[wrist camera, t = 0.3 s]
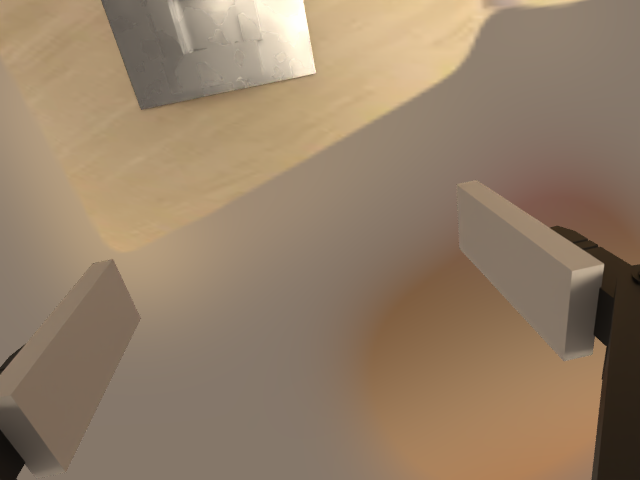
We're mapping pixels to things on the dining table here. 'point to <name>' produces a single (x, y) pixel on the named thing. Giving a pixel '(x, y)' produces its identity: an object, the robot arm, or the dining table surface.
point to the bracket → (208, 45)
